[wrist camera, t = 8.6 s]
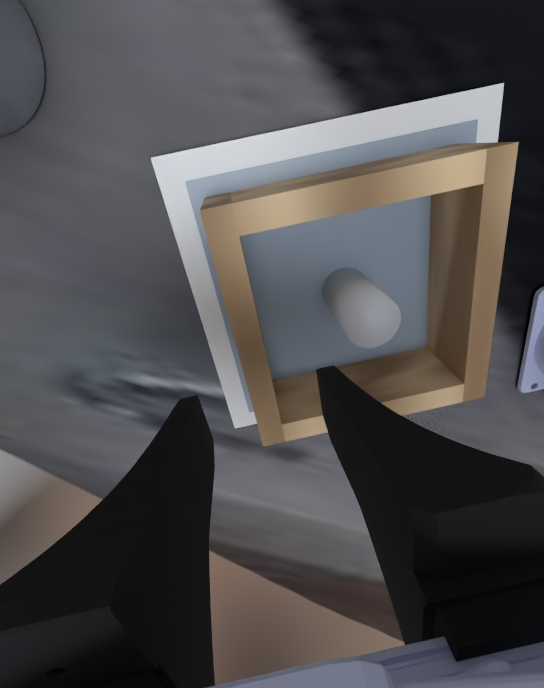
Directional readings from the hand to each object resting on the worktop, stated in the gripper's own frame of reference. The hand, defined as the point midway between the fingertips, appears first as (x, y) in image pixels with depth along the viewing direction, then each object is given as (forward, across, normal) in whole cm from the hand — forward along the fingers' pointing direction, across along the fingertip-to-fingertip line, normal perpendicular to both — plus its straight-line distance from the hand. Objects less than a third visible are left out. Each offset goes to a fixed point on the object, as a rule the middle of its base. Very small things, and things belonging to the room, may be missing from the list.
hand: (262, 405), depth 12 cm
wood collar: (+8, -5, 0) cm, 10 cm away
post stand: (+9, -5, 0) cm, 11 cm away
